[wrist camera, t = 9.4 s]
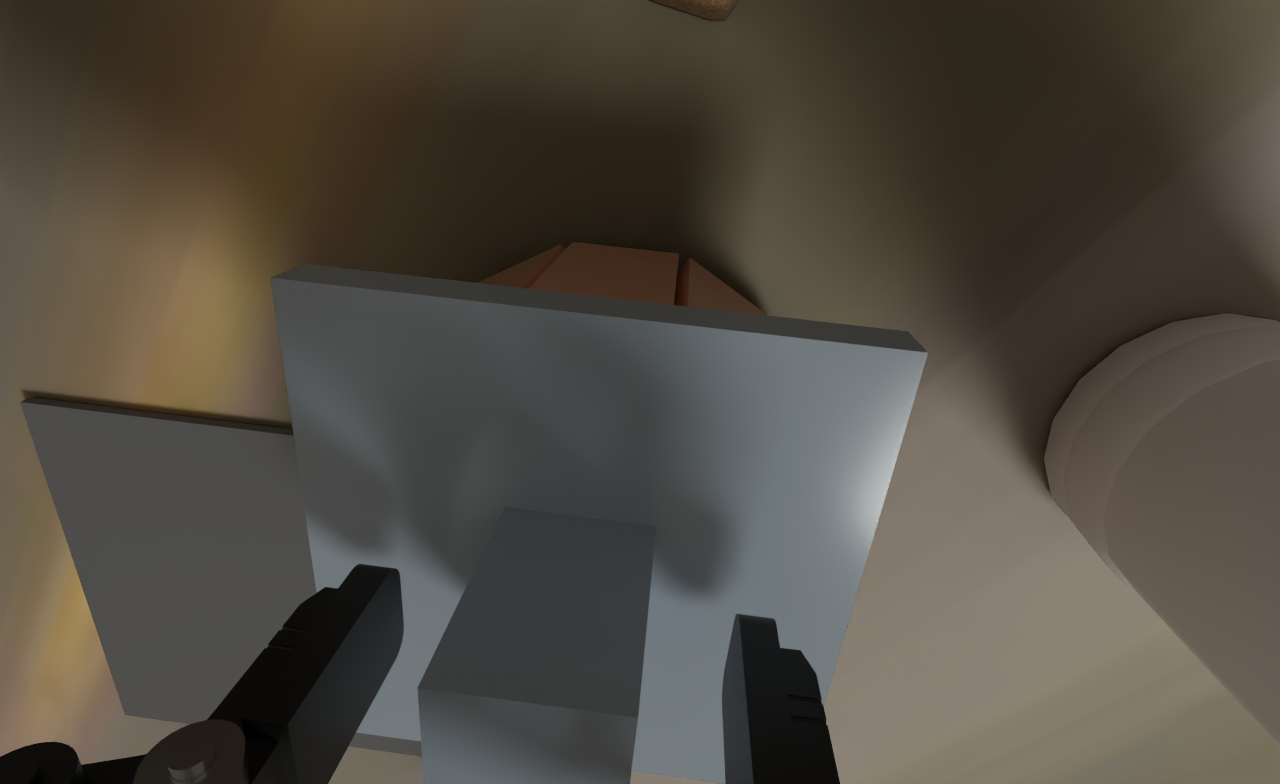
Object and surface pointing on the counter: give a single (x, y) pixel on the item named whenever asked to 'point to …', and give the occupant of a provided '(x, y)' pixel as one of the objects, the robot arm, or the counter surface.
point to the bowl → (623, 277)
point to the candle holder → (701, 7)
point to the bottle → (1187, 489)
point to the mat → (180, 547)
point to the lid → (583, 505)
